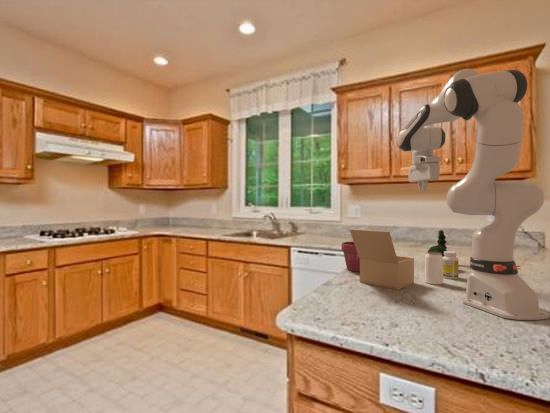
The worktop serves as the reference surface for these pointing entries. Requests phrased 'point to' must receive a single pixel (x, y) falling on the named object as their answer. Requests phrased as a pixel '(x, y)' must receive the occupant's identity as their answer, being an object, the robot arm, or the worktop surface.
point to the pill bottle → (450, 265)
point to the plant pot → (351, 256)
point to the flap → (374, 245)
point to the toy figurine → (440, 244)
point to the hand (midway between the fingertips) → (422, 191)
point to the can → (433, 268)
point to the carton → (388, 272)
